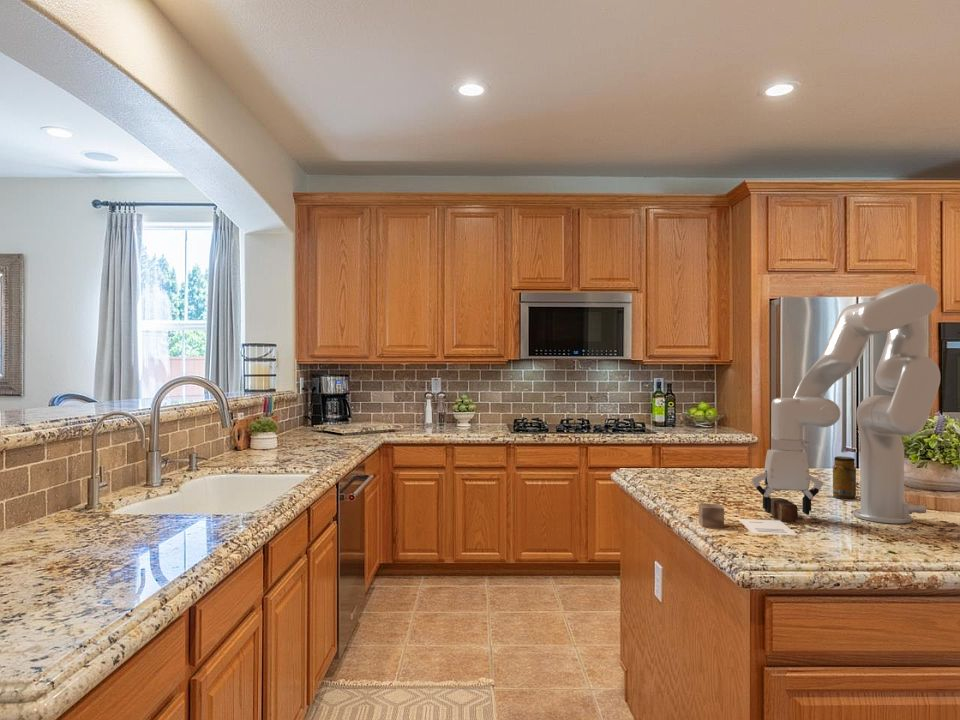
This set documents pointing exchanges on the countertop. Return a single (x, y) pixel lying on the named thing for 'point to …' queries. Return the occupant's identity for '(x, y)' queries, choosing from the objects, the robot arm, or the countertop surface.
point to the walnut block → (711, 515)
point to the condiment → (844, 479)
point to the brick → (784, 510)
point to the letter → (766, 527)
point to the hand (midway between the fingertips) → (786, 512)
